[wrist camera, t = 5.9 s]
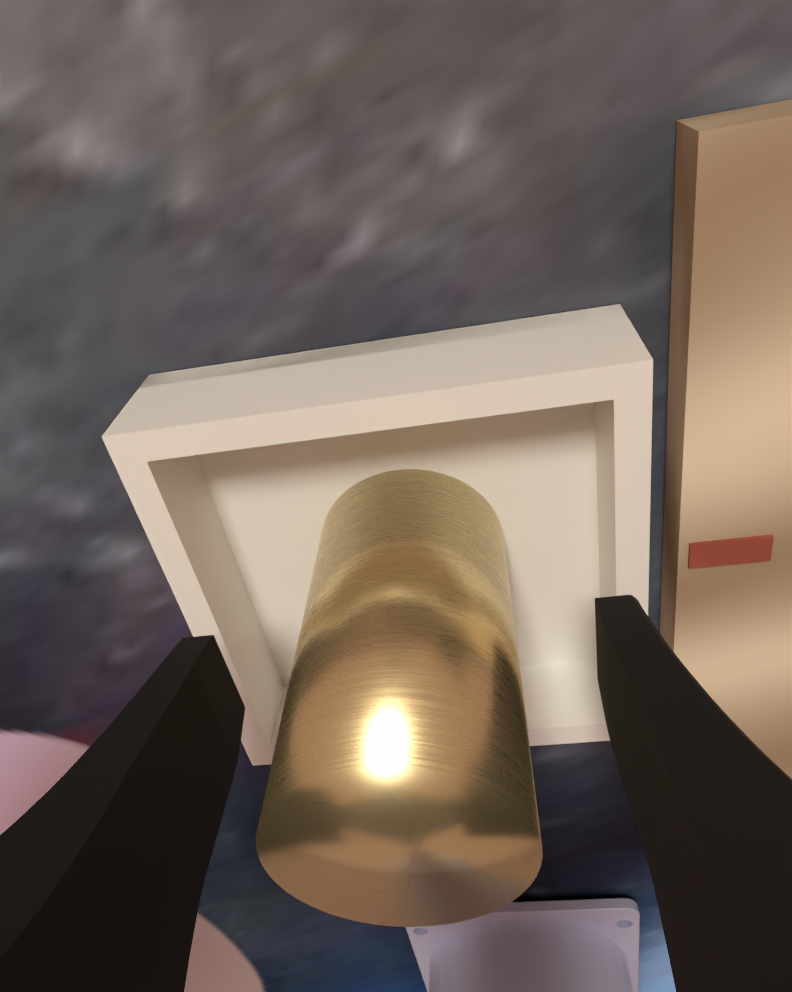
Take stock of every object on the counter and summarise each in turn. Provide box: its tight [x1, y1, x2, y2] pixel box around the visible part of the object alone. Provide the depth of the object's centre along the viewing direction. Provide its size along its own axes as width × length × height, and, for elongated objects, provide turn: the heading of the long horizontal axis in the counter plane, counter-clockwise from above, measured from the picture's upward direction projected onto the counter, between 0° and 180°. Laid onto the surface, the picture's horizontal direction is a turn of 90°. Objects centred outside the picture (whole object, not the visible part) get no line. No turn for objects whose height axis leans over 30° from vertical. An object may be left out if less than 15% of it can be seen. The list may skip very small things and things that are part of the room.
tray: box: [102, 304, 653, 765], centre depth 15 cm, size 9×9×2 cm
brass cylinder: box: [256, 469, 543, 927], centre depth 13 cm, size 4×4×7 cm
